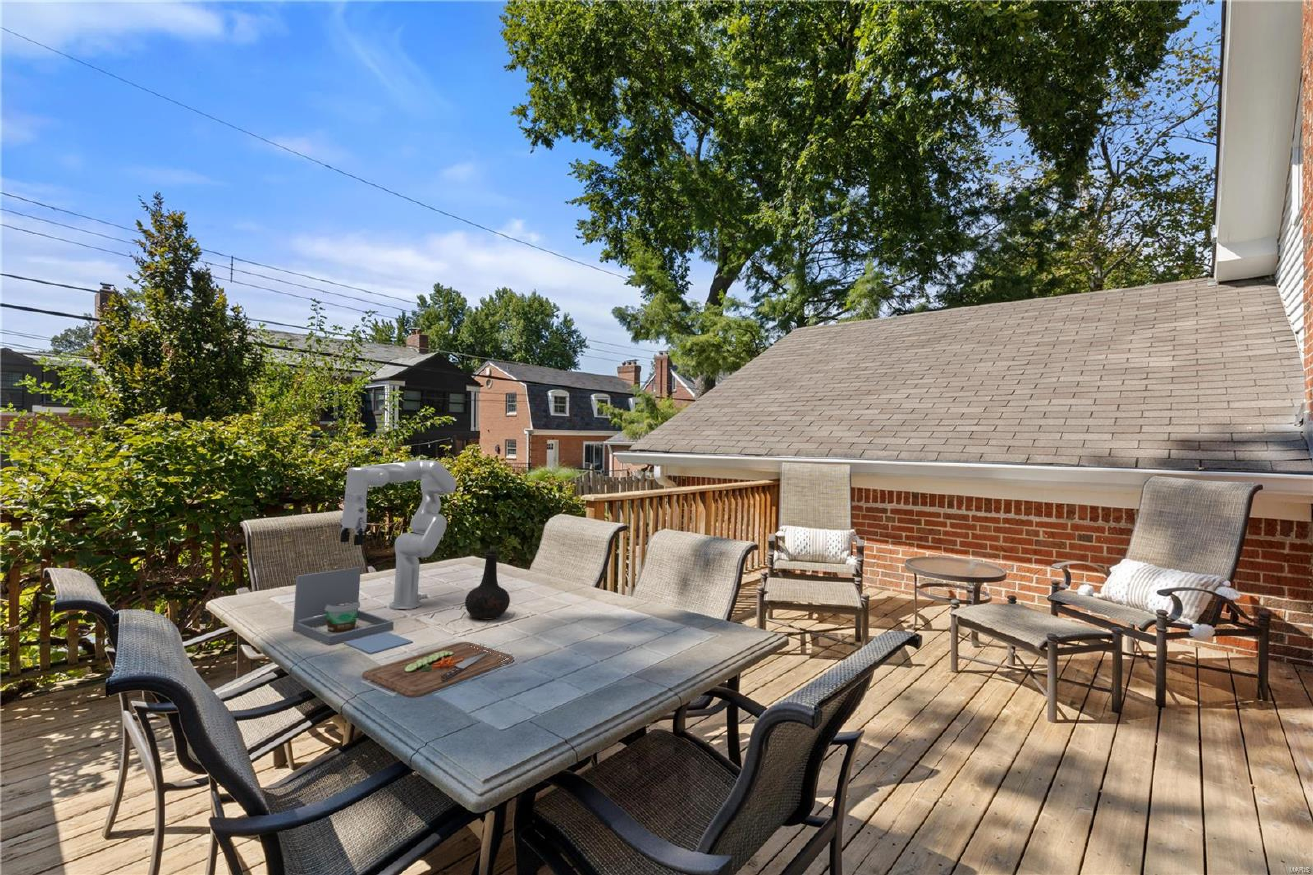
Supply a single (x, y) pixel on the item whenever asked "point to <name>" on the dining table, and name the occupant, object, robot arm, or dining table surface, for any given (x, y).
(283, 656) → the dining table surface
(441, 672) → the chopping board
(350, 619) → the food container
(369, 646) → the mat
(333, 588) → the case
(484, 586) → the glass bottle
